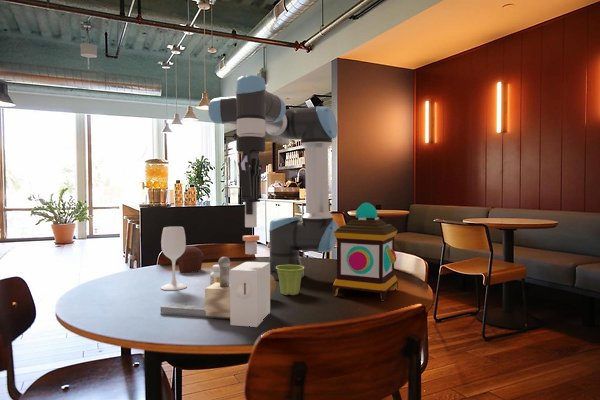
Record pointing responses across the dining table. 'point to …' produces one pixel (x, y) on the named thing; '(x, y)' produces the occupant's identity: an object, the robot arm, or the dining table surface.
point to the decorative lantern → (366, 253)
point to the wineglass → (173, 251)
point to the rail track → (186, 311)
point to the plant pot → (289, 278)
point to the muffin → (190, 260)
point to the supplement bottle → (215, 274)
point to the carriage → (219, 292)
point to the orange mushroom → (250, 244)
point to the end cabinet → (249, 293)
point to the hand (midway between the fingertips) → (250, 226)
